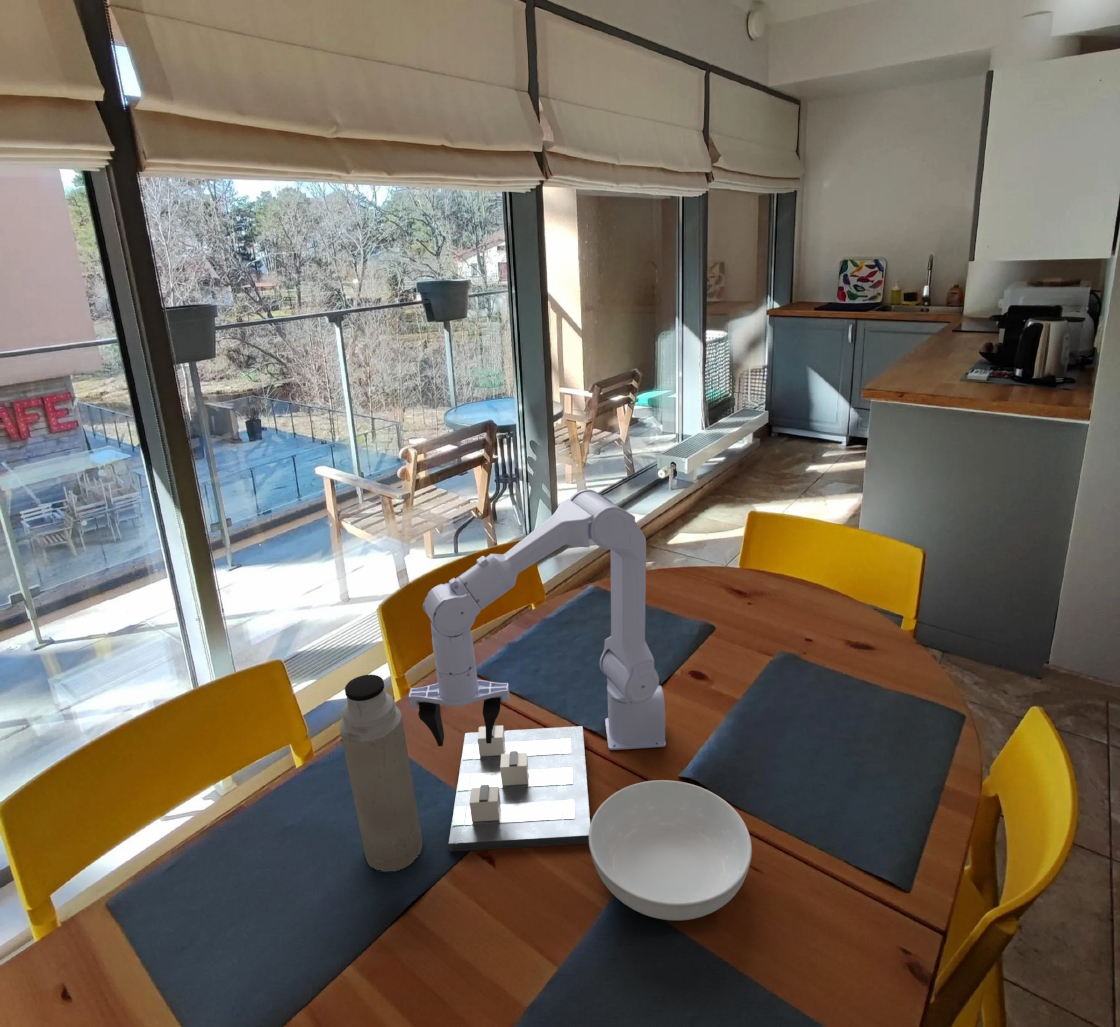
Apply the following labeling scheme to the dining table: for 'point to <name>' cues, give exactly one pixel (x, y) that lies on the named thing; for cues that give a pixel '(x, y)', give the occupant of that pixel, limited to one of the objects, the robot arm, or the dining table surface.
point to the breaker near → (485, 803)
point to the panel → (526, 793)
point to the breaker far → (496, 744)
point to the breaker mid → (514, 768)
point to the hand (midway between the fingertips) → (465, 740)
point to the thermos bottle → (380, 775)
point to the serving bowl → (670, 849)
